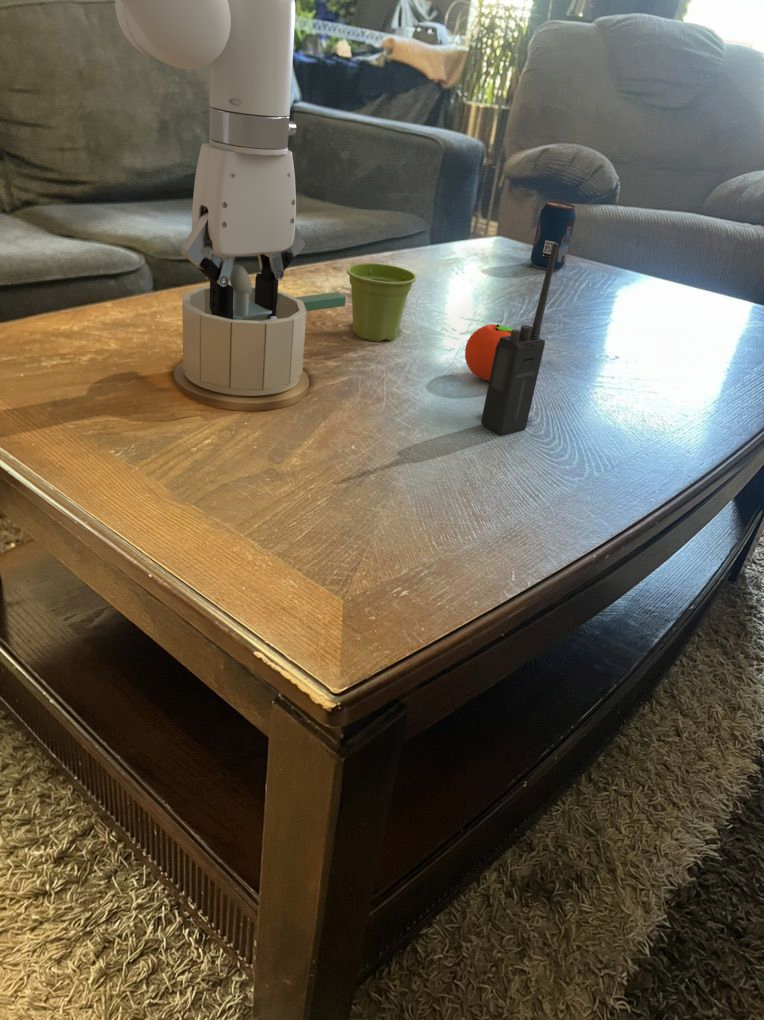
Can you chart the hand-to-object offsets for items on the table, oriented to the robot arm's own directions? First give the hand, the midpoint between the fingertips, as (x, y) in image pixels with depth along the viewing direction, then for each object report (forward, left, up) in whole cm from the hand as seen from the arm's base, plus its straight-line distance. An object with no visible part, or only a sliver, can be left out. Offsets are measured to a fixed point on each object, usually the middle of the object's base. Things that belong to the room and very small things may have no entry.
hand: (243, 314), depth 84 cm
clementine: (+29, -13, -8) cm, 33 cm away
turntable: (0, 0, -8) cm, 8 cm away
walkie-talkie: (+19, -23, -8) cm, 31 cm away
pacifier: (+1, 0, -1) cm, 1 cm away
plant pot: (+26, +6, -8) cm, 28 cm away
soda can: (+88, +22, -8) cm, 91 cm away
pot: (+4, 0, -7) cm, 8 cm away
